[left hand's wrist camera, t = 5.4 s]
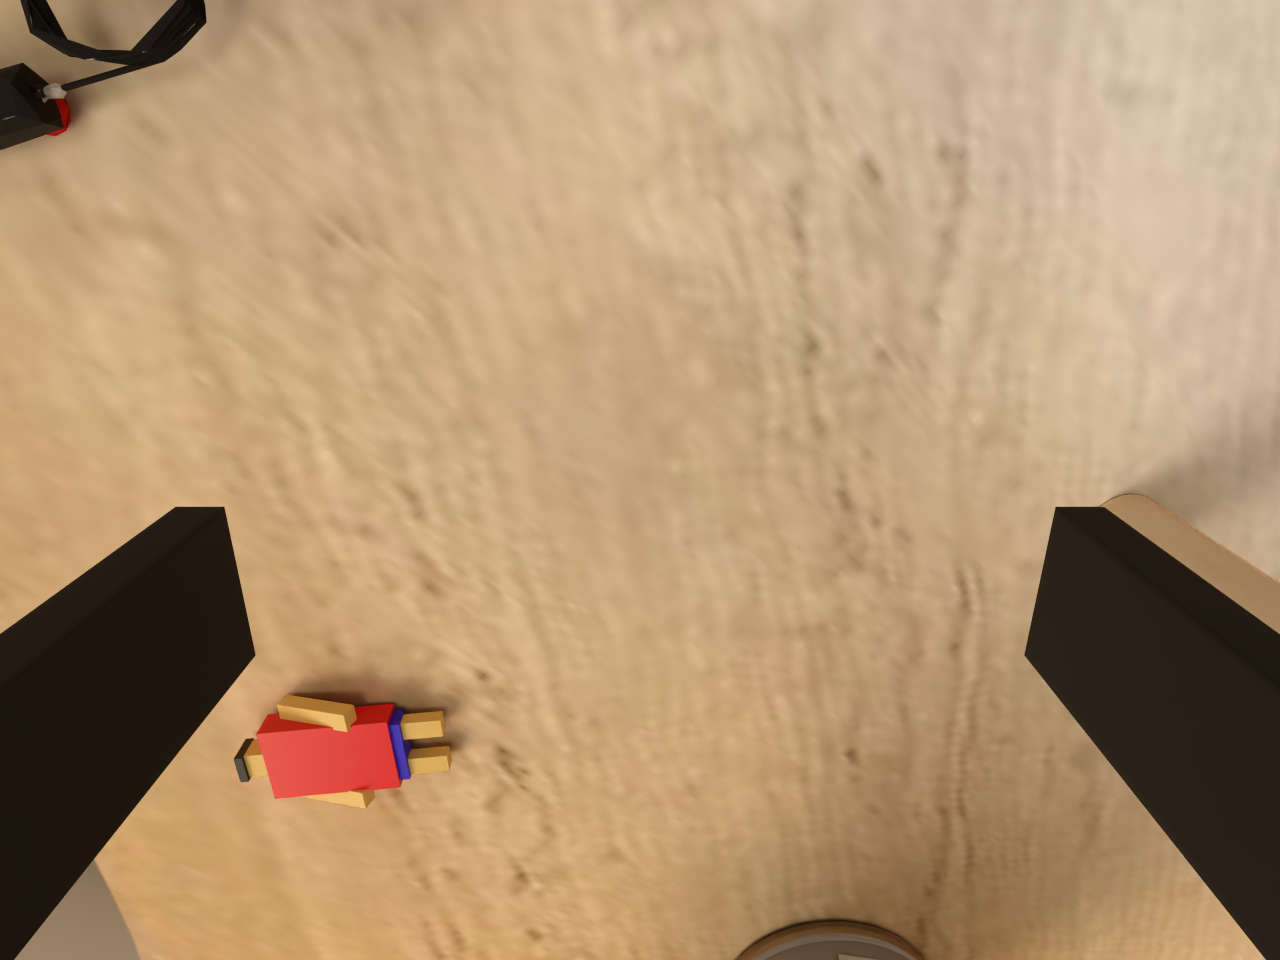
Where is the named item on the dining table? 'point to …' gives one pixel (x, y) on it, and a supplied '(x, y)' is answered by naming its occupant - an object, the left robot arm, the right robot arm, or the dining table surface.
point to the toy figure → (340, 750)
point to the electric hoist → (30, 107)
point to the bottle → (1202, 556)
